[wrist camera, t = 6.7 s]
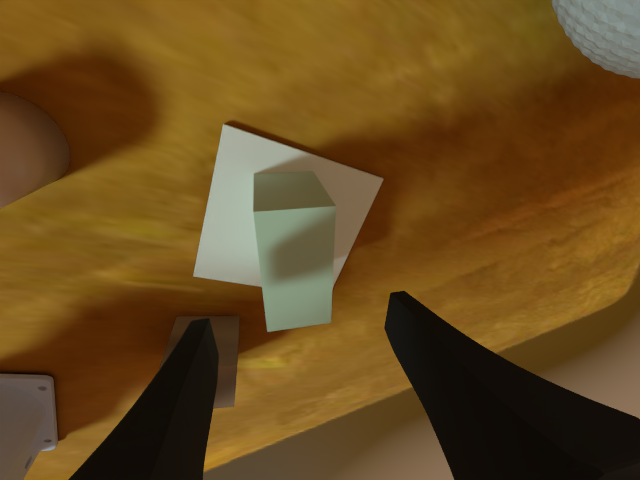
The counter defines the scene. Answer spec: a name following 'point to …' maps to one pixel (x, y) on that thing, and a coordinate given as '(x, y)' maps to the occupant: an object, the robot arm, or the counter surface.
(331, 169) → the plate
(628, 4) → the cereal bowl
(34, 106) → the pink cylinder
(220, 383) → the walnut cube
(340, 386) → the counter surface
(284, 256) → the sage brick
